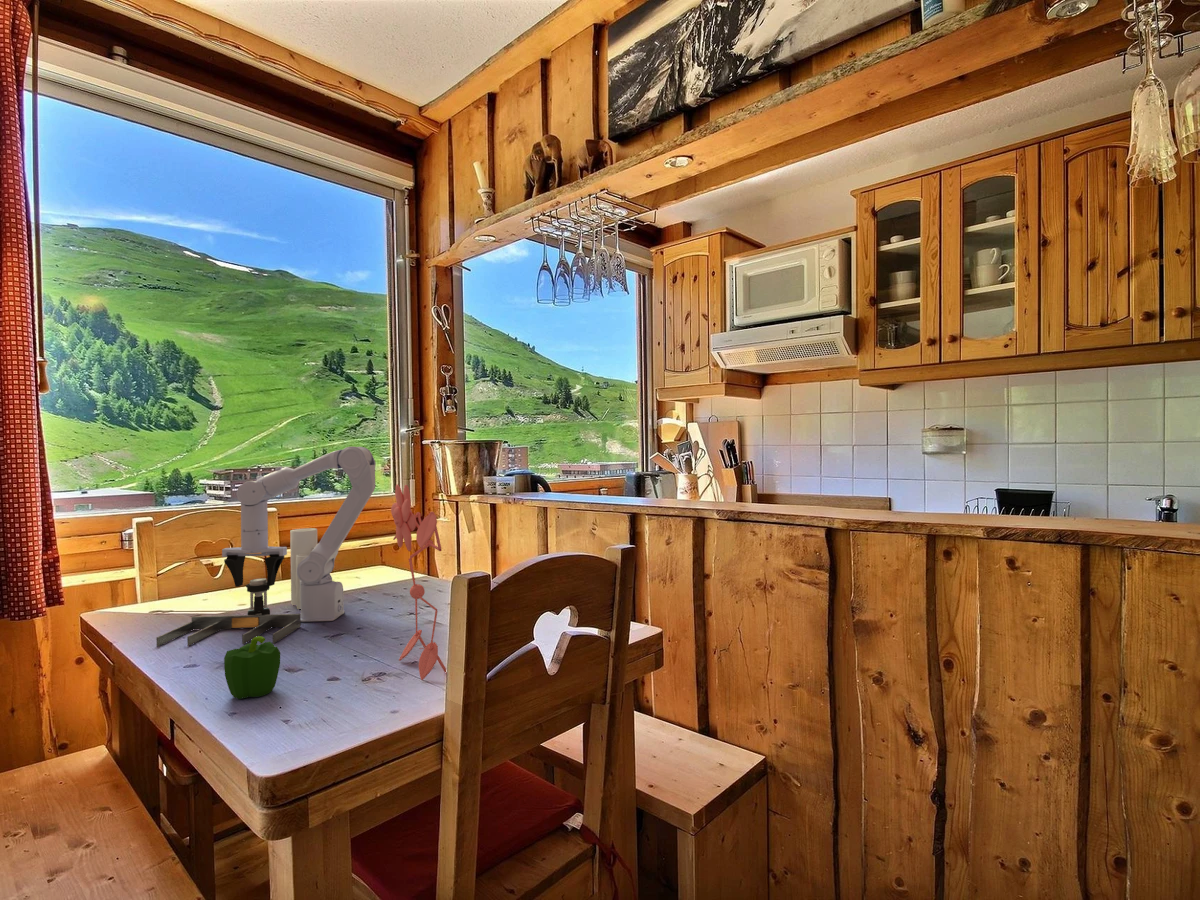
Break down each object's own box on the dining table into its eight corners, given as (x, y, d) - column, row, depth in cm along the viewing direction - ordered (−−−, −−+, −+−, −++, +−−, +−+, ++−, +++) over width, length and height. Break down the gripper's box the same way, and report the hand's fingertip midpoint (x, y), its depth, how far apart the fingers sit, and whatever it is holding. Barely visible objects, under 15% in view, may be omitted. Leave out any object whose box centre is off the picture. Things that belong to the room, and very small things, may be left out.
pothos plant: (424, 645, 127) (418, 479, 127) (466, 686, 106) (459, 485, 105) (346, 662, 119) (339, 484, 119) (374, 709, 97) (366, 491, 97)
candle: (288, 602, 166) (287, 529, 166) (316, 598, 171) (315, 527, 171) (299, 610, 158) (298, 533, 158) (328, 605, 162) (327, 531, 162)
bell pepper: (218, 694, 103) (218, 635, 103) (271, 681, 109) (270, 625, 109) (232, 708, 97) (231, 646, 97) (287, 693, 103) (286, 635, 103)
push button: (240, 626, 145) (240, 584, 145) (239, 620, 149) (238, 580, 149) (272, 621, 148) (271, 580, 148) (270, 616, 153) (269, 576, 153)
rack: (300, 626, 143) (300, 613, 143) (274, 643, 131) (274, 629, 131) (193, 629, 142) (193, 616, 142) (156, 646, 130) (156, 632, 130)
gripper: (214, 532, 144) (215, 589, 144) (277, 531, 145) (277, 588, 145) (231, 528, 151) (231, 583, 151) (290, 527, 152) (291, 582, 152)
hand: (255, 585), depth 149 cm, fingers open, 7 cm apart
